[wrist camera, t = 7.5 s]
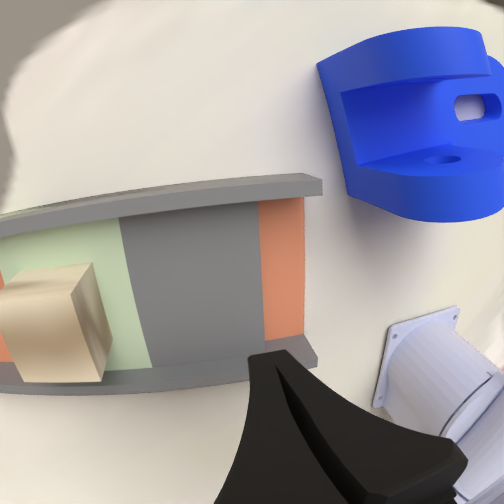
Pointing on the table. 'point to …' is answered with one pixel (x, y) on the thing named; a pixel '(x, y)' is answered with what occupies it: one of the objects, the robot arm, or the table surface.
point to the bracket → (419, 123)
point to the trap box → (176, 278)
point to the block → (56, 324)
